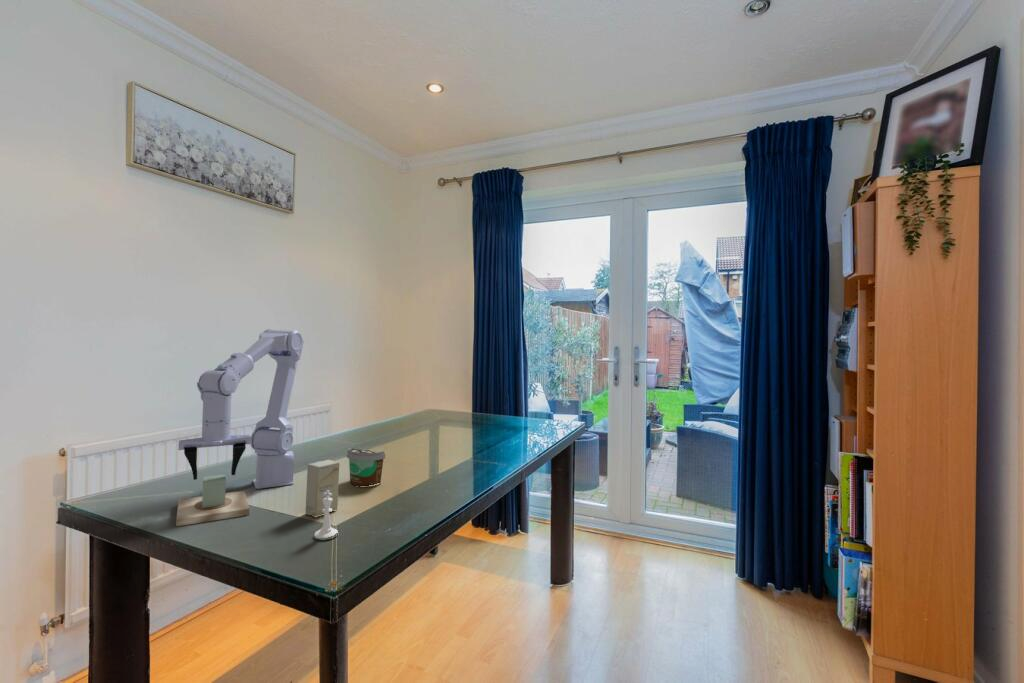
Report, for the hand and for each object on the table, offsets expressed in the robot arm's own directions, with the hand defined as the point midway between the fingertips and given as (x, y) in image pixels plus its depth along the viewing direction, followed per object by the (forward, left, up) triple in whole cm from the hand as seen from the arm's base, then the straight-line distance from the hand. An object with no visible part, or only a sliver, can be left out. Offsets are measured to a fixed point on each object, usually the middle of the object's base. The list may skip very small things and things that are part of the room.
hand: (214, 476), depth 111 cm
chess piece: (-20, +27, -8) cm, 35 cm away
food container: (-36, -3, -8) cm, 37 cm away
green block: (0, 0, -7) cm, 7 cm away
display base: (0, 0, -8) cm, 8 cm away
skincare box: (-22, +13, -8) cm, 27 cm away
